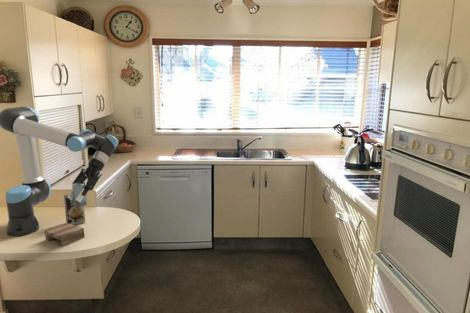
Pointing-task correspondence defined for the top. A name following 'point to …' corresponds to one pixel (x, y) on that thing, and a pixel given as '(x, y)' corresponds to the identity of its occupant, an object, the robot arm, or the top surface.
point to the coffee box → (73, 212)
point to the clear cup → (76, 191)
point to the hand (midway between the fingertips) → (73, 199)
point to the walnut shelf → (65, 233)
